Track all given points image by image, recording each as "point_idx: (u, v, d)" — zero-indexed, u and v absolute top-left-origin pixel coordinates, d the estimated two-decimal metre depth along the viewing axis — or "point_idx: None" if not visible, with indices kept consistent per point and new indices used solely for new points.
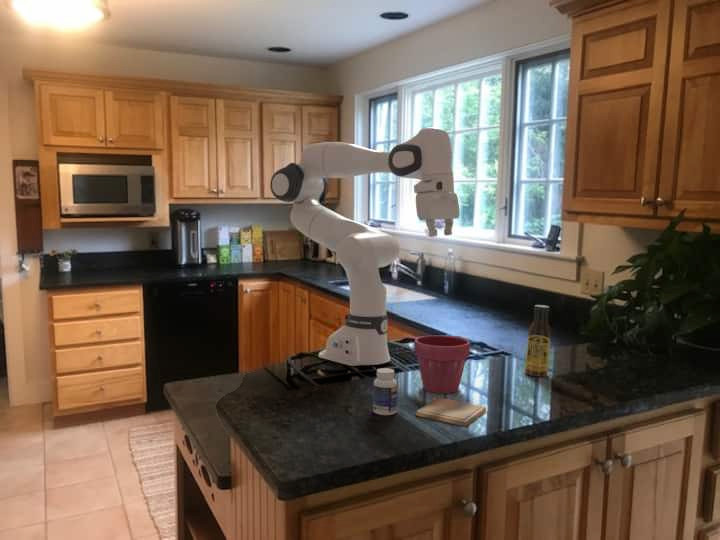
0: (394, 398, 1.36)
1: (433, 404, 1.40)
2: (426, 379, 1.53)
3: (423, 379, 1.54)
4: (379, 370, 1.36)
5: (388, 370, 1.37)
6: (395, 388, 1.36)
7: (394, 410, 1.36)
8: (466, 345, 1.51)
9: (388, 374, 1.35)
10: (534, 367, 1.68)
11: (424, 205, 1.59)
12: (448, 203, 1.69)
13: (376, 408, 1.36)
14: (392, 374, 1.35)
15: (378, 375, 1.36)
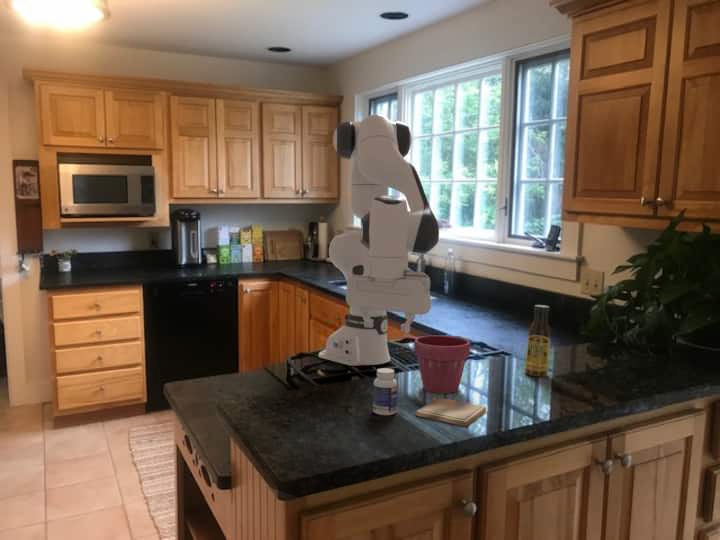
0: (394, 398, 1.36)
1: (433, 404, 1.40)
2: (426, 379, 1.53)
3: (423, 379, 1.54)
4: (379, 370, 1.36)
5: (388, 370, 1.37)
6: (395, 388, 1.36)
7: (394, 410, 1.36)
8: (466, 345, 1.51)
9: (388, 374, 1.35)
10: (534, 367, 1.68)
11: None
12: (395, 293, 1.32)
13: (376, 408, 1.36)
14: (392, 374, 1.35)
15: (378, 375, 1.36)
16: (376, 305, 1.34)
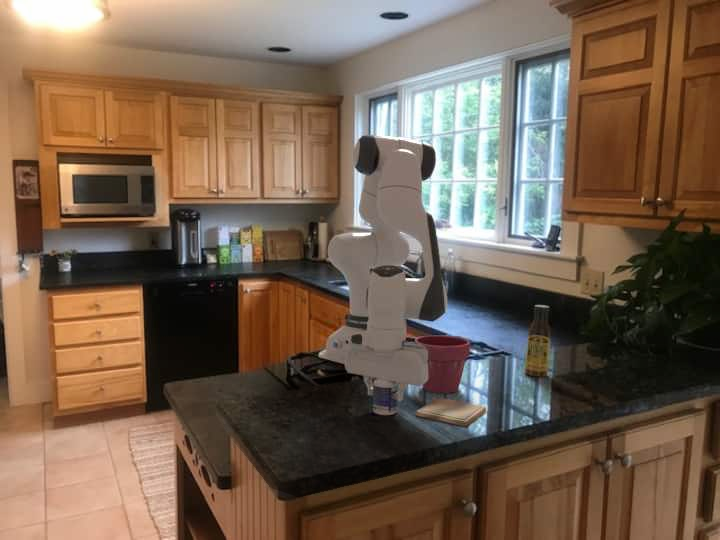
0: None
1: (433, 404, 1.40)
2: None
3: None
4: None
5: None
6: (395, 388, 1.36)
7: (394, 410, 1.36)
8: (466, 345, 1.51)
9: None
10: (534, 367, 1.68)
11: None
12: (393, 363, 1.34)
13: (376, 408, 1.36)
14: None
15: (378, 375, 1.36)
16: (374, 374, 1.36)
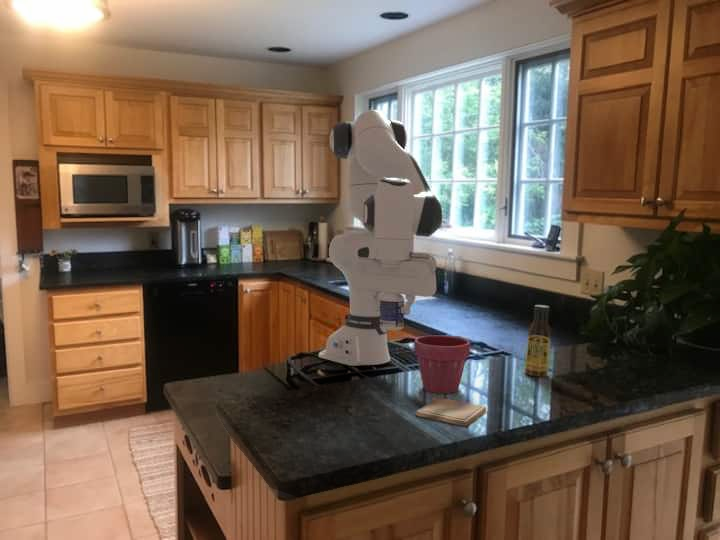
0: None
1: (433, 404, 1.40)
2: (426, 379, 1.53)
3: (423, 379, 1.54)
4: None
5: None
6: (402, 303, 1.33)
7: (401, 325, 1.34)
8: (466, 345, 1.51)
9: None
10: (534, 367, 1.68)
11: None
12: (401, 275, 1.31)
13: (383, 323, 1.34)
14: None
15: (385, 290, 1.34)
16: (381, 287, 1.34)
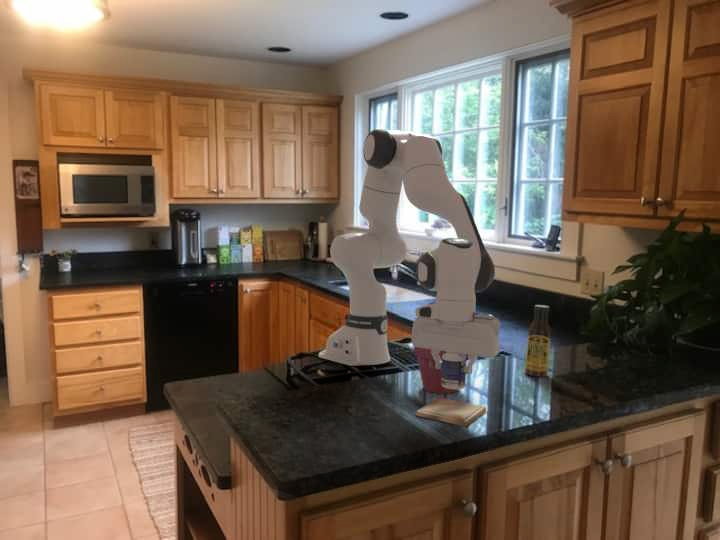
0: None
1: (433, 404, 1.40)
2: (426, 379, 1.53)
3: (423, 379, 1.54)
4: None
5: None
6: (464, 362, 1.35)
7: (463, 384, 1.35)
8: None
9: None
10: (534, 367, 1.68)
11: None
12: (464, 335, 1.33)
13: (445, 382, 1.35)
14: None
15: (447, 349, 1.35)
16: (443, 347, 1.35)
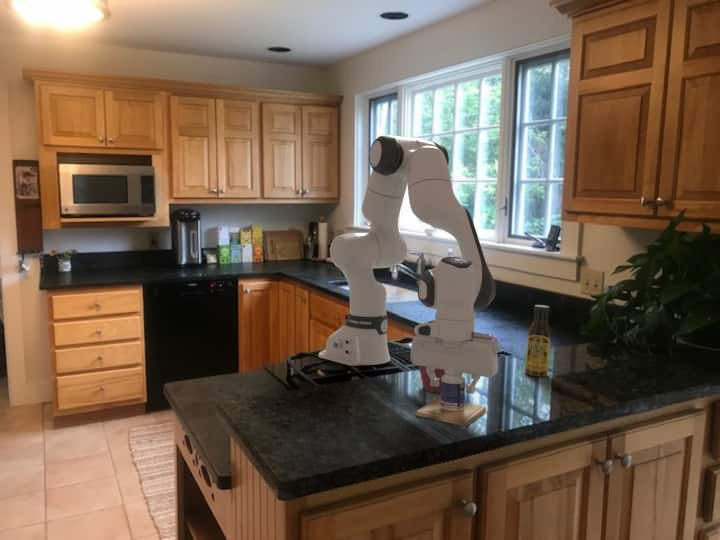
0: (463, 394, 1.35)
1: (433, 404, 1.40)
2: (426, 379, 1.53)
3: (423, 379, 1.54)
4: None
5: None
6: (464, 384, 1.35)
7: (462, 406, 1.36)
8: None
9: None
10: (534, 367, 1.68)
11: None
12: (463, 354, 1.33)
13: (445, 404, 1.35)
14: None
15: (447, 371, 1.35)
16: (442, 365, 1.36)
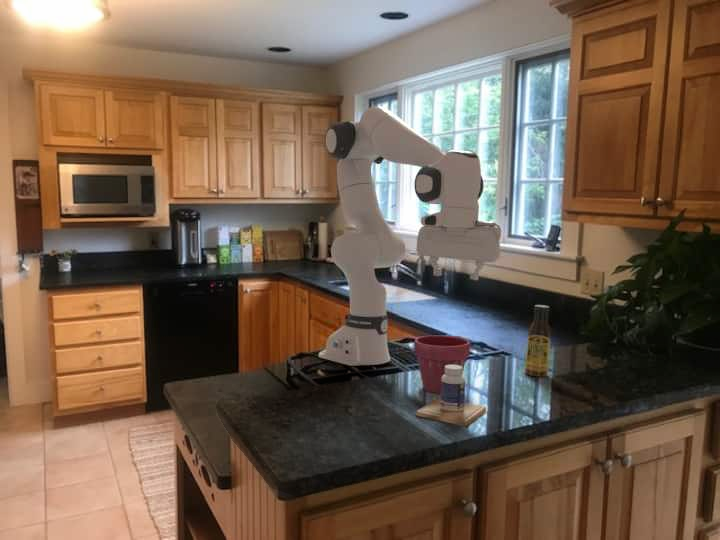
0: (463, 394, 1.35)
1: (433, 404, 1.40)
2: (426, 379, 1.53)
3: (423, 379, 1.54)
4: (447, 366, 1.36)
5: (456, 366, 1.36)
6: (464, 384, 1.35)
7: (462, 406, 1.36)
8: (466, 345, 1.51)
9: (457, 370, 1.34)
10: (534, 367, 1.68)
11: None
12: (466, 242, 1.40)
13: (445, 404, 1.35)
14: (461, 370, 1.35)
15: (447, 371, 1.35)
16: (447, 254, 1.43)
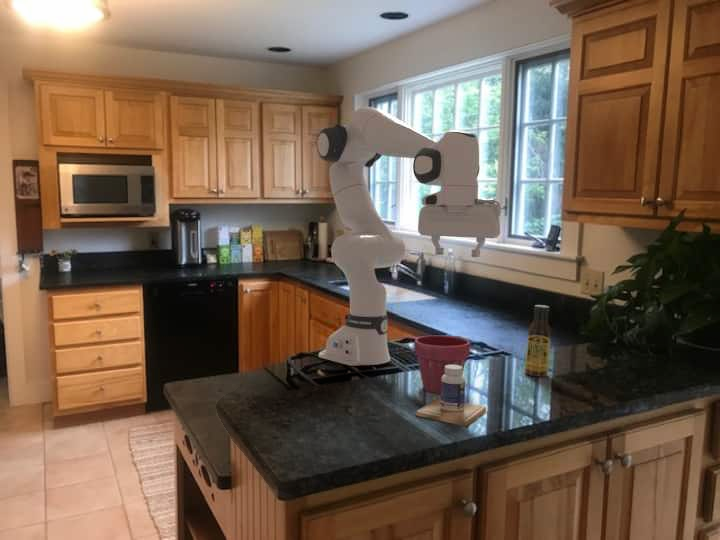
0: (463, 394, 1.35)
1: (433, 404, 1.40)
2: (426, 379, 1.53)
3: (423, 379, 1.54)
4: (447, 366, 1.36)
5: (456, 366, 1.36)
6: (464, 384, 1.35)
7: (462, 406, 1.36)
8: (466, 345, 1.51)
9: (457, 370, 1.34)
10: (534, 367, 1.68)
11: None
12: (467, 219, 1.43)
13: (445, 404, 1.35)
14: (461, 370, 1.35)
15: (447, 371, 1.35)
16: (448, 232, 1.45)
